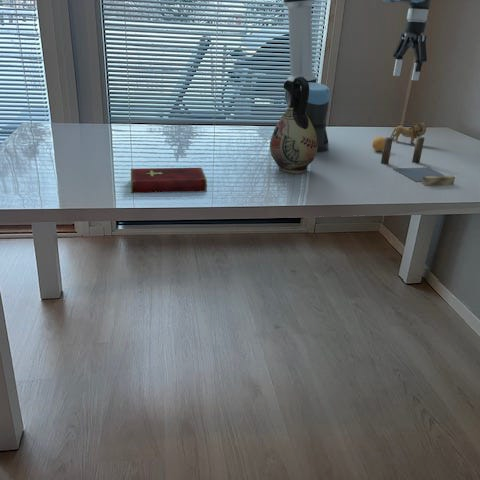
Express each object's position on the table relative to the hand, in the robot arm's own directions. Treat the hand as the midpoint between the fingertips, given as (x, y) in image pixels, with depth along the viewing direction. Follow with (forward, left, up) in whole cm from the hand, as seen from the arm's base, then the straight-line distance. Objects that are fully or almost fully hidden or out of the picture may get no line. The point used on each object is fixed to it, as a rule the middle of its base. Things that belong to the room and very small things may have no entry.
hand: (405, 78), depth 199 cm
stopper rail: (-19, -59, -25) cm, 67 cm away
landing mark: (-18, -49, -25) cm, 58 cm away
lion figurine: (+1, -8, -25) cm, 26 cm away
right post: (-12, -35, -25) cm, 44 cm away
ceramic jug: (-61, -40, -25) cm, 77 cm away
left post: (-24, -35, -25) cm, 49 cm away
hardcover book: (-103, -50, -26) cm, 117 cm away
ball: (-18, -19, -22) cm, 34 cm away
